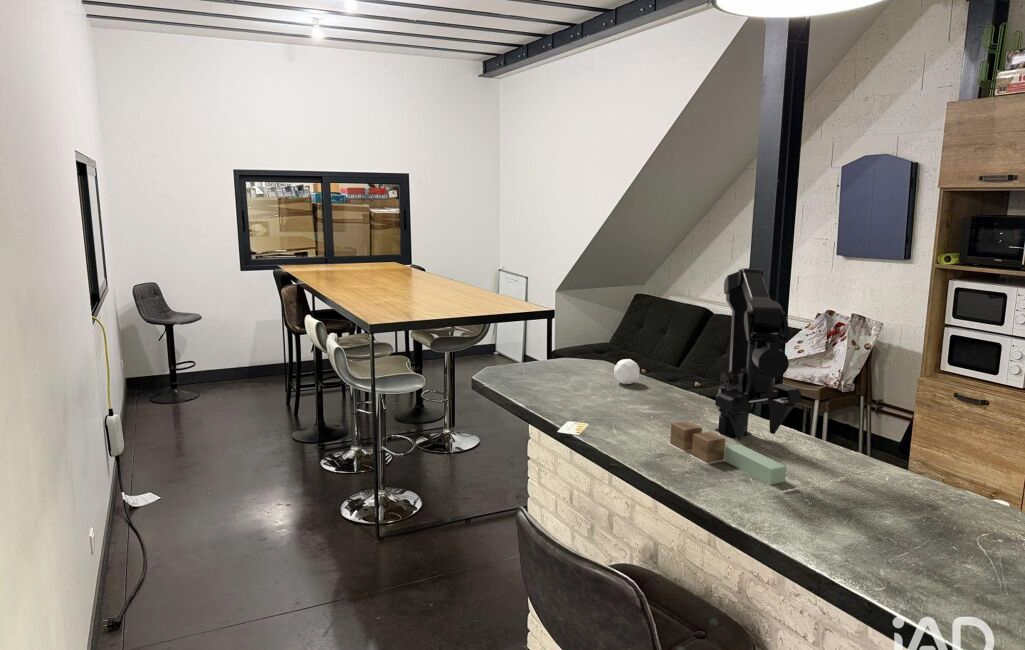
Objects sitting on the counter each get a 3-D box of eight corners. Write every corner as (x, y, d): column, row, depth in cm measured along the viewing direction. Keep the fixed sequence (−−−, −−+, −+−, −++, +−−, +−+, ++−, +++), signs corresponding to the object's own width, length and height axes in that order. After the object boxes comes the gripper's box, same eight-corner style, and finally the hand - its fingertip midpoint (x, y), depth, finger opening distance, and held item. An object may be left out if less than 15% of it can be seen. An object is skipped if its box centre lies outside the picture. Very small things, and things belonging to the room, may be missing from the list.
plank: (738, 461, 156) (739, 444, 156) (784, 484, 144) (786, 466, 143) (724, 463, 155) (725, 446, 154) (769, 487, 142) (771, 469, 141)
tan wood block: (709, 452, 160) (710, 431, 159) (724, 459, 155) (725, 438, 154) (691, 455, 158) (692, 434, 157) (706, 462, 153) (707, 441, 152)
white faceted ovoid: (614, 376, 213) (601, 371, 225) (634, 391, 215) (621, 385, 226) (628, 355, 213) (614, 351, 225) (648, 370, 215) (634, 365, 227)
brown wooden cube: (687, 440, 167) (688, 420, 166) (700, 447, 162) (702, 427, 161) (670, 443, 165) (671, 423, 164) (683, 450, 160) (684, 430, 159)
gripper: (766, 353, 156) (761, 419, 159) (700, 360, 148) (696, 430, 151) (805, 364, 146) (799, 435, 149) (736, 373, 138) (731, 447, 141)
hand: (755, 436), depth 148 cm, fingers open, 9 cm apart
